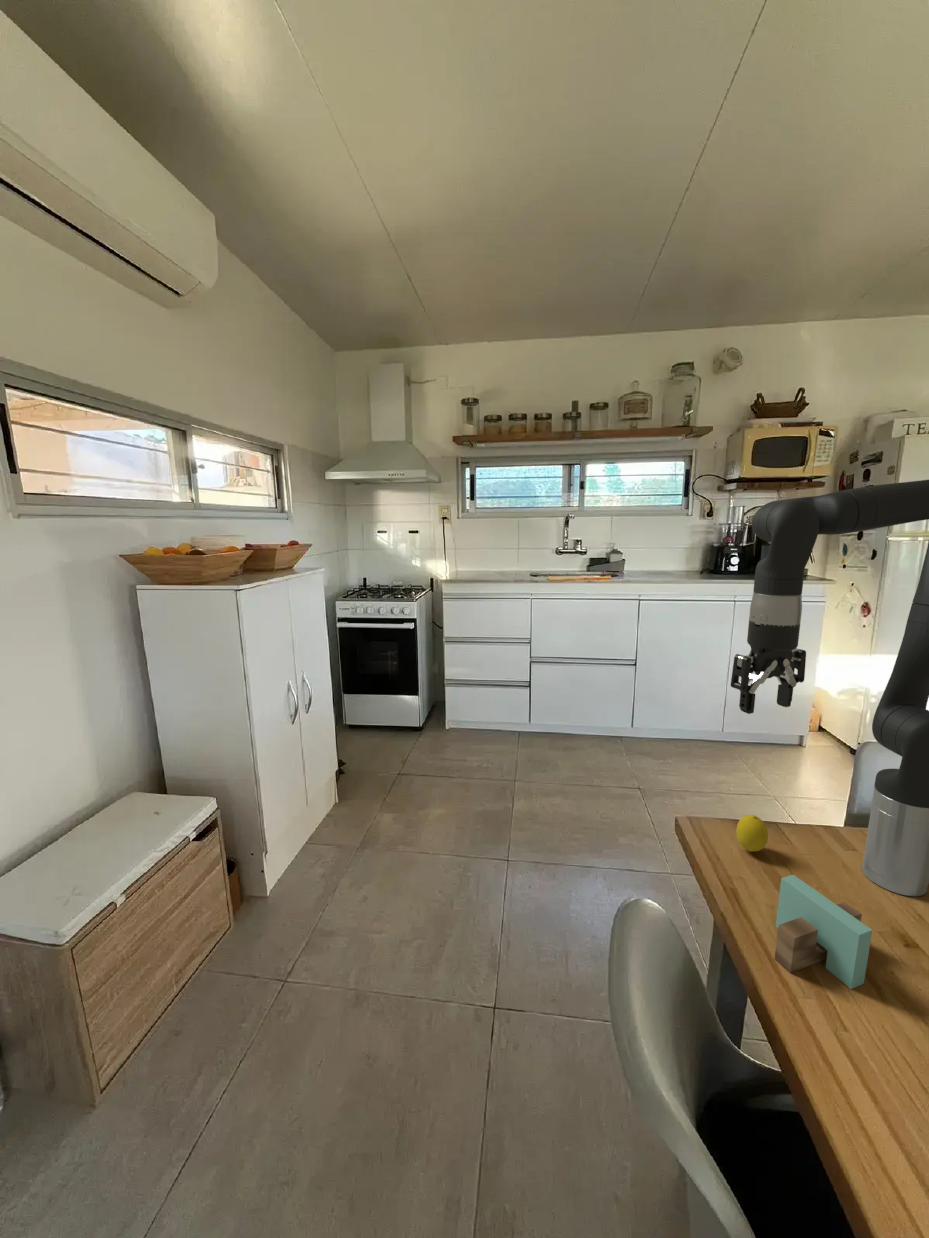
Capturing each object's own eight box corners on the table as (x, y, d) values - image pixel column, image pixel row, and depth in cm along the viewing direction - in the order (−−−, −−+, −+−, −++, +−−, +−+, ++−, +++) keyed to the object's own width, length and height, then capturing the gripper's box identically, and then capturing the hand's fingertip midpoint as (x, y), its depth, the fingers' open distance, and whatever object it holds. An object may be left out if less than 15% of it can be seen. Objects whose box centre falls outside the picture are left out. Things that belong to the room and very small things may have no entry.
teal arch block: (775, 926, 82) (781, 878, 81) (787, 922, 83) (793, 874, 82) (850, 989, 71) (859, 934, 70) (863, 983, 72) (872, 929, 70)
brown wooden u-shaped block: (839, 934, 81) (844, 901, 80) (856, 946, 78) (861, 913, 77) (774, 958, 76) (778, 924, 75) (790, 973, 74) (794, 938, 73)
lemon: (770, 861, 98) (774, 824, 96) (739, 858, 99) (743, 821, 98) (760, 844, 103) (763, 809, 102) (731, 841, 104) (734, 806, 103)
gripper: (785, 612, 91) (776, 697, 94) (724, 618, 87) (716, 707, 90) (826, 620, 84) (815, 711, 87) (761, 626, 80) (752, 722, 83)
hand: (765, 708), depth 88 cm, fingers open, 8 cm apart
